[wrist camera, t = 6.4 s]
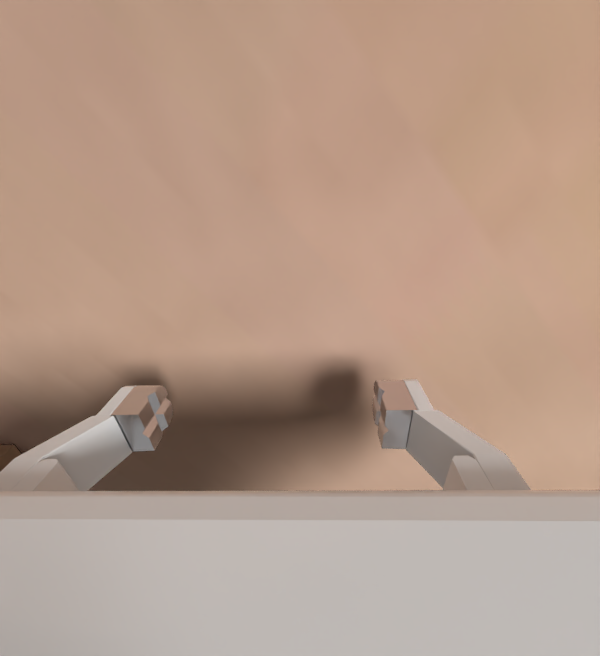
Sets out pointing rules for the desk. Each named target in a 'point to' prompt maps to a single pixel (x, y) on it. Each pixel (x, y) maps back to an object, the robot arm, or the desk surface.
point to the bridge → (7, 455)
